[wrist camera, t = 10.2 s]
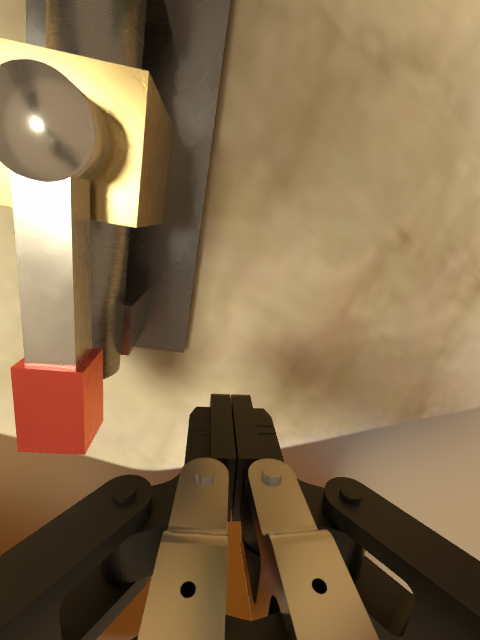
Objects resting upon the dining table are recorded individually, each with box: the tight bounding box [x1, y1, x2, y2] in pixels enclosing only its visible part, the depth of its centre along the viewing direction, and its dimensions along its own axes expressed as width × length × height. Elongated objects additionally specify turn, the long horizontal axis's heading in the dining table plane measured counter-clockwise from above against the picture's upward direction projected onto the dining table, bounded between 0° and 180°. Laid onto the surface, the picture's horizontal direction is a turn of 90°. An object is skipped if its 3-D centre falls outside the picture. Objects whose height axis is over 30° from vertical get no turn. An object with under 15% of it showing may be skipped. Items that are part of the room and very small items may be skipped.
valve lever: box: [0, 59, 111, 455], centre depth 14 cm, size 15×4×3 cm, turn 173°
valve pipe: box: [0, 0, 231, 379], centre depth 18 cm, size 24×11×9 cm, turn 170°
